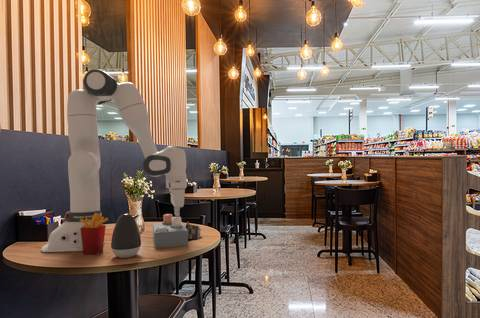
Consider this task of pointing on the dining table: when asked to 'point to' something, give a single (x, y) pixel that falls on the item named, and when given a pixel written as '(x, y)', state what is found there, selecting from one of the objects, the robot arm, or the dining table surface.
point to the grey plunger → (161, 229)
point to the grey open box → (170, 236)
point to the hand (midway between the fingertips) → (177, 215)
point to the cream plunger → (176, 222)
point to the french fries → (93, 235)
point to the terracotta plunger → (167, 219)
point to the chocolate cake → (193, 231)
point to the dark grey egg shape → (126, 237)
